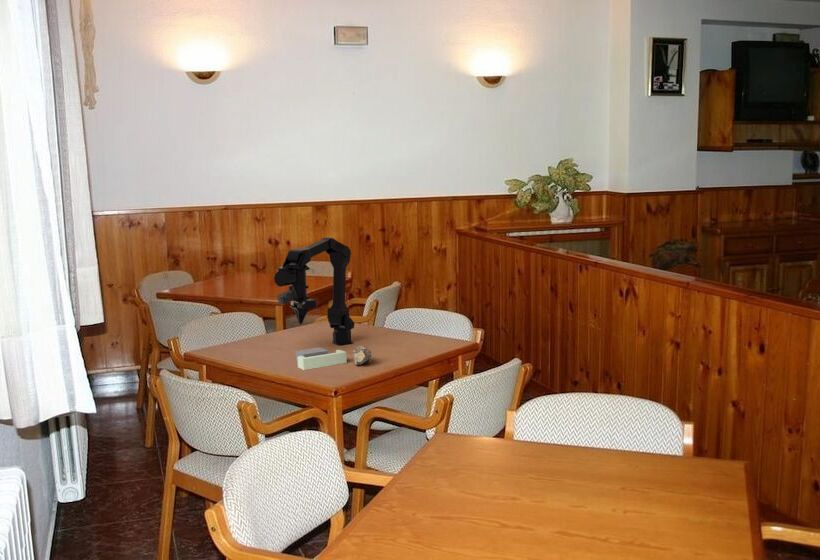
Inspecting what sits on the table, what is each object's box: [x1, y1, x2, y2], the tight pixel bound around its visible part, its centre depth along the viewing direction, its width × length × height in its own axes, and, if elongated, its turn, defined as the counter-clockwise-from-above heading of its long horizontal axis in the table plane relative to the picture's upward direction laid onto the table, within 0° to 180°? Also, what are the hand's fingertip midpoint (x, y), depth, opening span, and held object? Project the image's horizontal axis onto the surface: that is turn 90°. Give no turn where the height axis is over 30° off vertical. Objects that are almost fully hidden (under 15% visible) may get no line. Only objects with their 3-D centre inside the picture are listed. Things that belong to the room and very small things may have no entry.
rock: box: [352, 344, 373, 366], centre depth 304 cm, size 7×11×10 cm
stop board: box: [297, 349, 348, 371], centre depth 303 cm, size 17×5×4 cm, turn 123°
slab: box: [295, 347, 329, 362], centre depth 310 cm, size 10×7×4 cm
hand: (300, 323), depth 316 cm, fingers closed
